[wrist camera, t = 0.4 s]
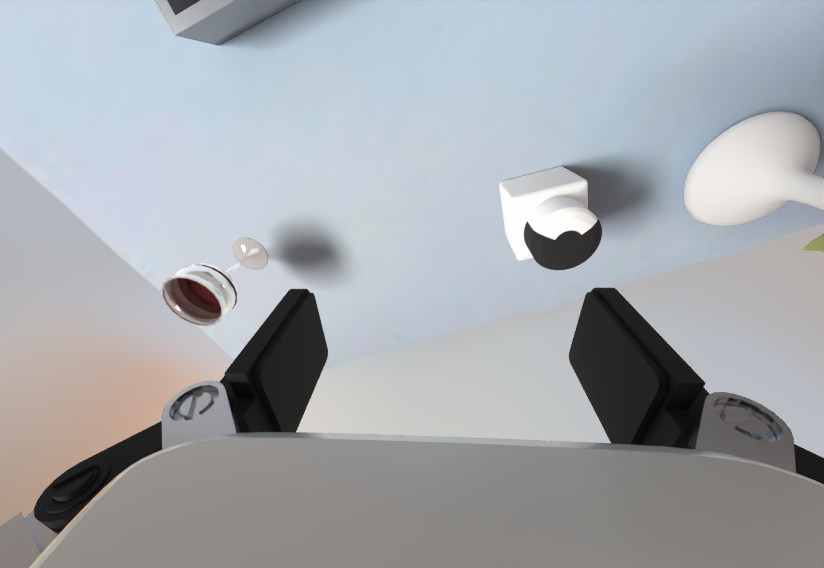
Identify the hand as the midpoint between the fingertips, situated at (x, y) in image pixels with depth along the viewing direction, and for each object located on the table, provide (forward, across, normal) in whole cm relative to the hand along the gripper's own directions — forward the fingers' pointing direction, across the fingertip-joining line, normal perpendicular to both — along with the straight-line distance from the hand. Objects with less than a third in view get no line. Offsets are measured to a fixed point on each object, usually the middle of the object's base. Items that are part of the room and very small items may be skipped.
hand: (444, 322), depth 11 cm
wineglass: (+29, +27, +11) cm, 41 cm away
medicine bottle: (+29, -11, +4) cm, 32 cm away
